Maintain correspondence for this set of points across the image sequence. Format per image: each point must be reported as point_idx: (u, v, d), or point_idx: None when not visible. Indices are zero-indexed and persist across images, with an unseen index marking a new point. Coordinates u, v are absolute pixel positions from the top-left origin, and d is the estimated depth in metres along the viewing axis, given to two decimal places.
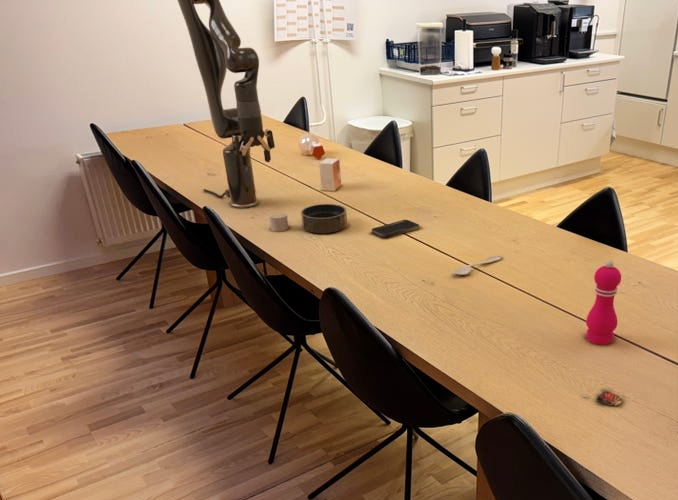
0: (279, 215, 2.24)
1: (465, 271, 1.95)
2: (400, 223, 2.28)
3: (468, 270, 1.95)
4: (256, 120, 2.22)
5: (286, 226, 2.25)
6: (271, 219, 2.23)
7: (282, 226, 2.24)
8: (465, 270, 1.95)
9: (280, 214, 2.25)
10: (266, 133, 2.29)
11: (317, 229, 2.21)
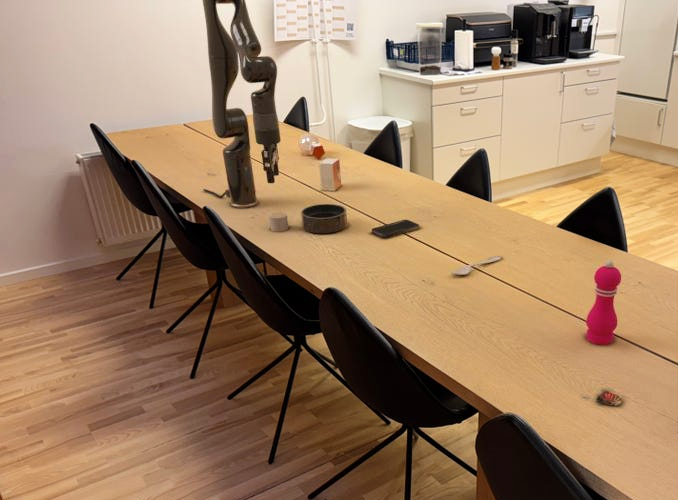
0: (279, 215, 2.24)
1: (465, 271, 1.95)
2: (400, 223, 2.28)
3: (468, 270, 1.95)
4: (279, 131, 2.11)
5: (286, 226, 2.25)
6: (271, 219, 2.23)
7: (282, 226, 2.24)
8: (465, 270, 1.95)
9: (280, 214, 2.25)
10: None
11: (317, 229, 2.21)
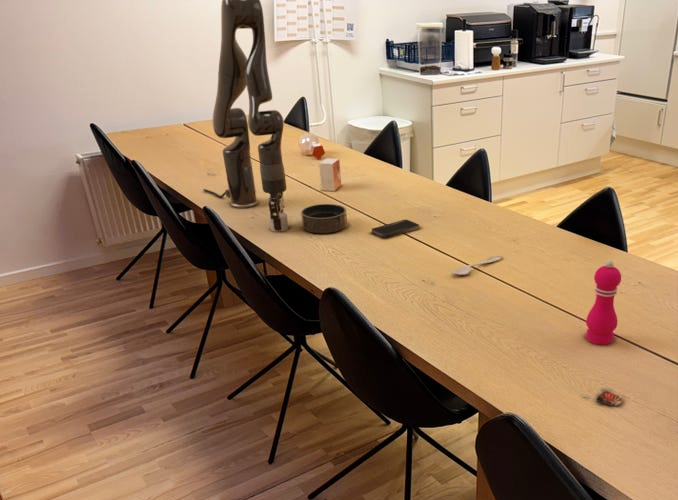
0: None
1: (465, 271, 1.95)
2: (400, 223, 2.28)
3: (468, 270, 1.95)
4: None
5: (286, 226, 2.25)
6: (271, 219, 2.23)
7: (282, 226, 2.24)
8: (465, 270, 1.95)
9: (280, 214, 2.25)
10: None
11: (317, 229, 2.21)
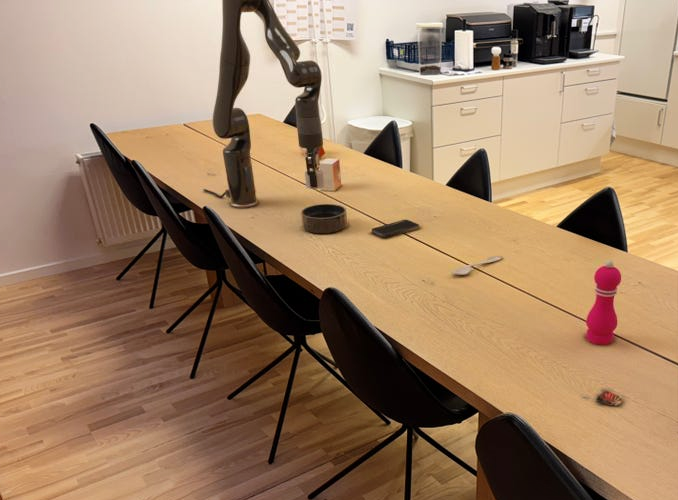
0: None
1: (465, 271, 1.95)
2: (400, 223, 2.28)
3: (468, 270, 1.95)
4: None
5: (322, 183, 2.19)
6: (307, 176, 2.17)
7: (318, 183, 2.18)
8: (465, 270, 1.95)
9: (316, 171, 2.19)
10: None
11: (317, 229, 2.21)
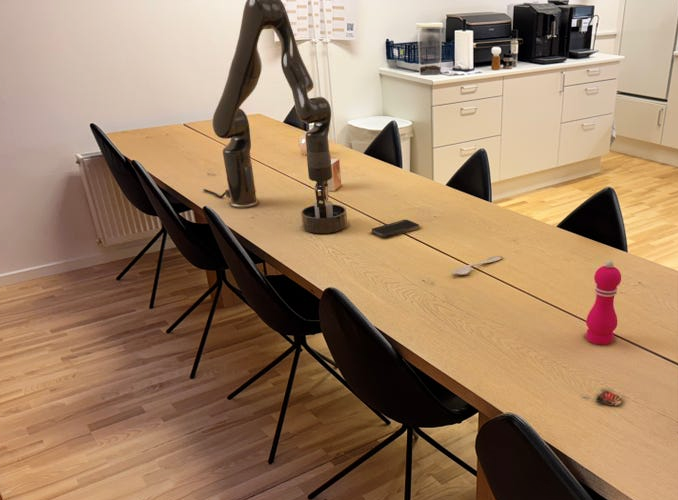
0: None
1: (465, 271, 1.95)
2: (400, 223, 2.28)
3: (468, 270, 1.95)
4: (331, 167, 2.19)
5: (331, 214, 2.25)
6: (316, 207, 2.23)
7: (327, 214, 2.24)
8: (465, 270, 1.95)
9: None
10: None
11: (317, 229, 2.21)
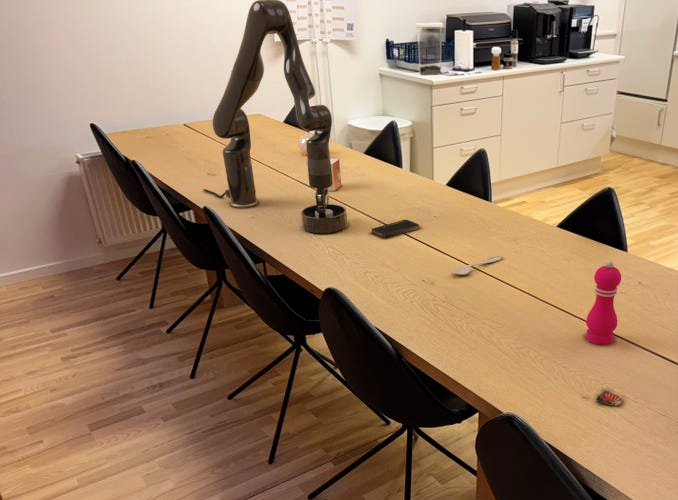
0: None
1: (465, 271, 1.95)
2: (400, 223, 2.28)
3: (468, 270, 1.95)
4: None
5: None
6: (317, 216, 2.24)
7: None
8: (465, 270, 1.95)
9: (326, 211, 2.26)
10: None
11: (317, 229, 2.21)
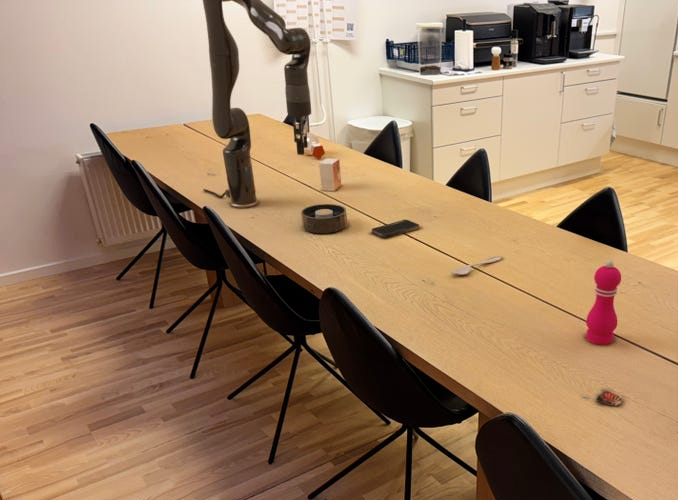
0: (325, 212, 2.25)
1: (465, 271, 1.95)
2: (400, 223, 2.28)
3: (468, 270, 1.95)
4: (310, 103, 2.14)
5: None
6: (317, 216, 2.24)
7: None
8: (465, 270, 1.95)
9: (326, 211, 2.26)
10: None
11: (317, 229, 2.21)
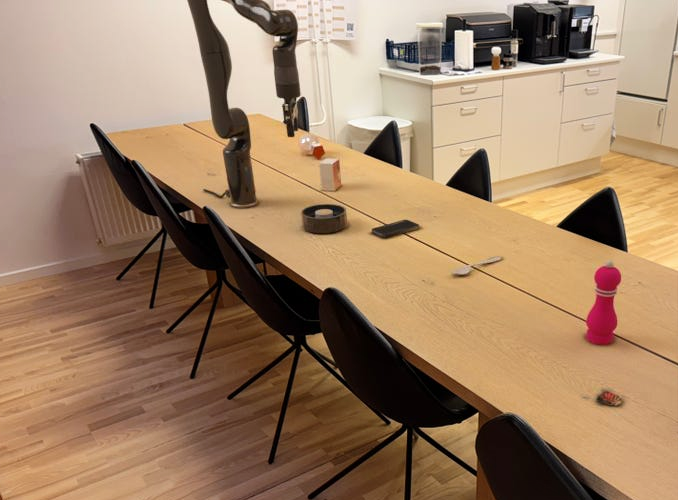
0: (325, 212, 2.25)
1: (465, 271, 1.95)
2: (400, 223, 2.28)
3: (468, 270, 1.95)
4: (299, 85, 2.15)
5: None
6: (317, 216, 2.24)
7: None
8: (465, 270, 1.95)
9: (326, 211, 2.26)
10: (293, 100, 2.22)
11: (317, 229, 2.21)
